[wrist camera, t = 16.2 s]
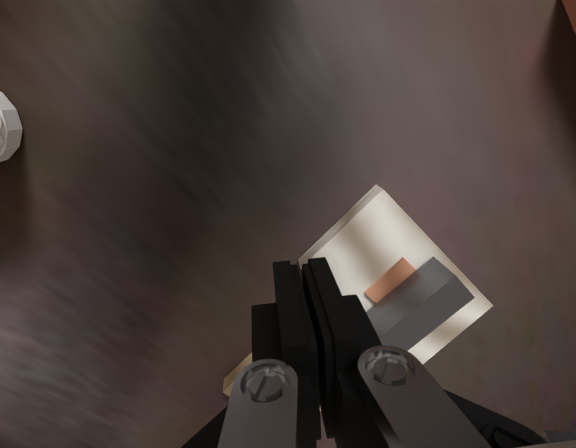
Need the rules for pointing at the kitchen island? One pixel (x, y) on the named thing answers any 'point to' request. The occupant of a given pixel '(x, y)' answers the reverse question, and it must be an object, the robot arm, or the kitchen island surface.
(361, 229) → the door and jamb
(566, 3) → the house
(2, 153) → the white cup
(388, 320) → the bar
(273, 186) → the kitchen island surface
